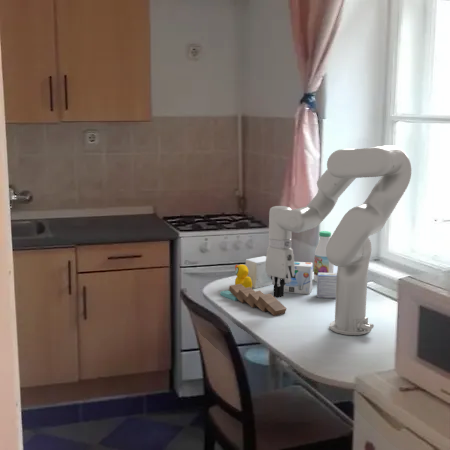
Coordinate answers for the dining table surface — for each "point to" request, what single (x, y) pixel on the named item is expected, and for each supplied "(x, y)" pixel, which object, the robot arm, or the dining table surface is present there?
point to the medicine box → (326, 285)
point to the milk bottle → (322, 255)
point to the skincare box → (258, 272)
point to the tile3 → (245, 293)
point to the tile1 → (272, 304)
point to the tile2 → (254, 298)
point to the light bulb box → (301, 279)
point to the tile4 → (235, 289)
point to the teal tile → (228, 295)
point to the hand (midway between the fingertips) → (278, 296)
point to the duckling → (242, 276)
